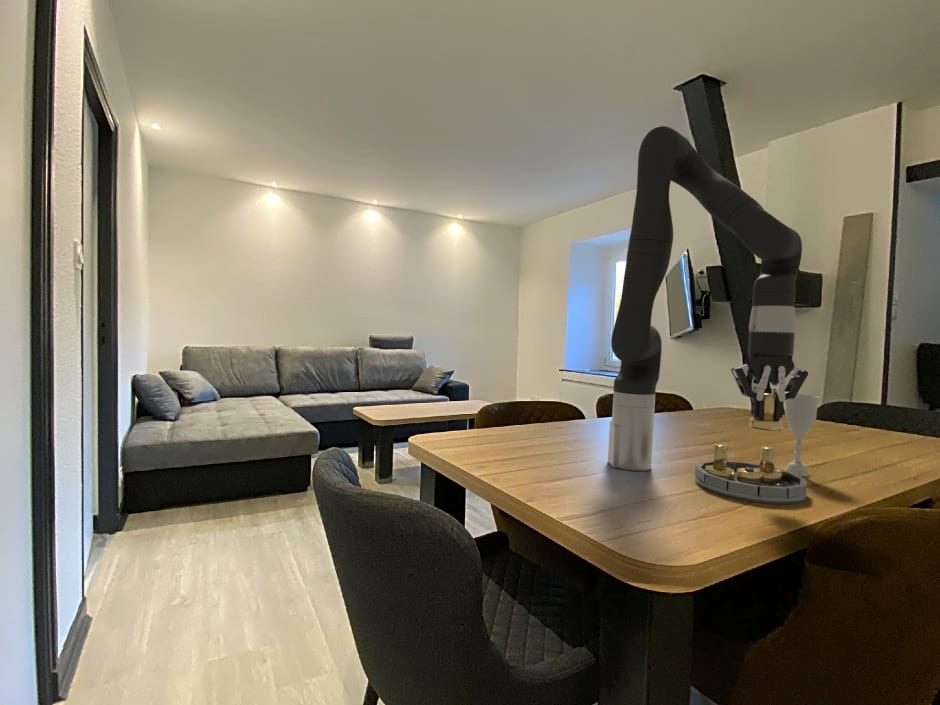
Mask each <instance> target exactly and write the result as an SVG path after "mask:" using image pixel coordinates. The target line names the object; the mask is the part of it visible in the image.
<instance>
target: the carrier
mask: <svg viewBox="0 0 940 705" xmlns="http://www.w3.org/2000/svg"><path fill="white" fill-rule="evenodd" d="M728 449H729V447H728V445H726V444H720V443H719V444H717V443H715V444H713V459H712V460H706V461H700V462H698V464H697V465H695V469H694V470H695V471H694V476H695V477H694V480H695V481H694V482H695V483H696V484H697V485H698V486H699V487H701V488H703V489H705V490H707V491H709V492H712V493H714V494H717V495H721V496H723V497H728V498H731V499H736V500H741V501H745V502H751V503H759V504H765V505H766V504H767V505H796V504H800V503H801V504H802V503H804V502H805V501H806V500H807V496H808V491H807V479H806V478H805V477H803V476H798V475H796V474H794V473H791V472H789V471H785V469H781V468H778V467H775V461H776V460H775V458H776V448H774V447H771V446H761V447H760V456H759V464H758V463H753V462H746V461H739V460H728V452H729V450H728Z"/></svg>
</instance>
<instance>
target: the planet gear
mask: <svg viewBox="0 0 940 705" xmlns="http://www.w3.org/2000/svg"><path fill="white" fill-rule="evenodd" d="M775 399H776V395H775V394H772V393H768V392H767V393H766V392H764V395H763V399H762V401H763V419H762V420H756V419H754V417H753V416H752V417H750V418H749V428H751V429H754V430H755V429H756V430H761V431H769V432H782V431H784V421H783V420H782V419H780V420H779V421H774V416H775Z"/></svg>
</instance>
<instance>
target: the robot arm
mask: <svg viewBox="0 0 940 705" xmlns="http://www.w3.org/2000/svg"><path fill="white" fill-rule="evenodd" d="M638 150H639V151H638V158H637V175H636V178H637V179H636V196H635V202H634V207H633V214H632V223H631V229H630V234H629V238H628V239H629V240H628V244H627V245H628V247H627V252H626V261H625V268H624V269H625V270H624V275H623V283H622V290H621V298H620V302H619V307H618V310H617V314H616V318H615V322H614V326H613V330H612V335H611V341H610V344H611V349H612V353H613V354H614V356H615V357H616V358H617V359H618V360H619V361H620V368H619V372H618V374H617V376H615V379H614V381H613V392H612V393H613V396H612V412H611V414H612V415H611V421H610V422H609V431H608V432H609V433H608V450H607V451H608V452H607V454H608V455H607V462H608V463H609V464H610V466H611V467H612V468H615V469H622V470H627V471H637V472H638V471H649V470H651V469H652V461H653V447H654V446H653V444H654V426H655V425H654V424H655V409H656V408H655V406H656V405H655V404H656V392H657V390H656V388H657V385H658V382H659V379H660V370H661V359H662V338H661V337H662V336H661V334H660V332H659V330H658V329H657V328H655V327H654V326H653V325H651V324H652V315H653V308H654V302H655V299H656V296H657V294H658V292H659V290H660V288H661V285H662V283H663V281H664V278H665V277H666V274H667V271H668V268H669V266H670V262H671V257H672V256H671V255H672V249H673V242H674V226H673V219H672V218H673V217H672V211H671V204H670V188H671V182H673V183H674V184H677V185H679V186H680V187H682V188H683V189H685V190H686V191H687V192H689V193H690V194H691V195H692V196H694V198H695V199H696V200H697V201H698V202H699V204H700V205H701V206H702V207H703V208H704V209H705V211H707V212H708V214H710V215H711V216H712V217H713V218H714V219H715V220H716V221H717V222H719V224H721V225H722V226H723V227H724V228H725V229H726V230H728V231H729V232H731V233H732V234H733V235H734V236H736V238H737V239H738V240H739V241H740V242H741V243H742V244H743V246H744V247H745V248H746V249H748V250H749V252H751V253H752V254H753V255H754V256H755V257H757V258H758V259H760V260H761V261H760V270H759V277H757V278H756V279H755V281H754V283H753V287H752V299H751V300H752V301H751V302H752V303H751V312H750V317H749V324H748V345H747V346H748V347H747V354H748V357H747V359H746V360H745V361H744V362H745V364H743V365H739V366H737V367H736V366H735V367H731V370H730V371H731V374H732V376H733V378H734V380H735V382H736V385H737V387H738V389H739V391H740V393H741V395H742V396H744V397H747V398H749V399H750V401H751V402H750V404H751V405H750V406H751V407H750V415H751V416H752V418H753V417H754V419H756V420H762V419H763V401H762V399H763V395H764V393H765V390H766V389H767V386H768V384H769V387H770V389H771V394H775V395H776V399H775V416H774V421H779V420H781V419H783V416H784V404H785V403H784V402H786V400H787V399H794V398H795V396H796V395H797V394H799V391H800V389H801V388H802V386H803V384H804V382H805V381H806V379H807V377H808V376H809V371H807V370H804V369H800V368H798V367H797V366H795V363H794V361H793V356H794V350H795V349H794V348H795V334H796V332H795V330H796V310H795V308H796V306H795V305H796V282H797V277H798V273H799V270H800V269H799V268H800V266H801V260H802V254H803V253H802V252H803V243H802V242H803V241H802V238H801V235H800V234H799V233H798V232H797V231H796V230H795V229H792V228H791V227H789V226H788V225H786V224H785V223H783V222H782V221H780V220H779V219H778V218H776V217H774V215H772V214H770V213H769V212H767V211H766V210H765V208H764V207H763V206H762V205H761V204H760V203H759V202H758V201H757V200H756V199H755V198H753V197H752V196H750V195H749V194H748V193H747V192H746V191H744V190H743V189H742V188H740V187H739V186H738V185H737V184H735V183H733V182H732V181H730V180H729V179H727V178H726V177H724V176H723V175H722V174H720V173H718V172H717V171H716V170H715V169H713V168H712V167H711V166H710V165H709V164H708V163H707V162H706V161H705V160H704V159H703V158H702V156H701V155H700V154H699V153H698V152H697V150H696V149H695V147H694V146H693V144H692V143H690V141H689V139H688V138H687V137H685V136H684V135H683V134H681V133H680V132H679V131H677V130H676V129H674V128H673V127H670V126H668V125H659V126H656V127H654V128H652V129H651V130H649V132H647V134H646V135H645V136H644V137H643V139H642V141H641V144H640V146H639V149H638ZM748 372H749V373H750V375H751V377H752V380H751V384H750V383H749V380H748V378H747V377H748V374H749V373H748ZM788 376H790V379H789V381H788V383H787V382H786V379H787V377H788ZM786 383H787V384H786Z"/></svg>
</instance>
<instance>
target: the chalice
mask: <svg viewBox="0 0 940 705" xmlns="http://www.w3.org/2000/svg"><path fill="white" fill-rule="evenodd" d="M820 399H821V396H818V395H813V394H812V395H811V394H805V393H804V394H802V393H801V394H800V393H797V395H796V396H795V398H794V399H787V400H785V411H784V412H785V414H784V417H785V419H786V422H787V424H788V427H789V429H790V432H791V433H792V434H793V435H795V436H796V437H795V438H796V441H795V442H794V445H795V450H794V451H793V453H794V456H795V457H794V460H793V461H790V462H789V463H787V466H786V467H785V469H784V470H785V471H789V472H791V473H794V474H796V475H798V476H800V477H810V476H809V475H810V473H809V470H808V468H807V464H805V463H803V462H802V461H801V455H802V454H803V452H802V447H803V443H802V438H803V437H804V436H807V435H808V433H810V431H811V429H812V427H813V426H814V424H815V423H816V419H817V416H818V415H817V413H818V412H817V411H818V402H819V400H820Z"/></svg>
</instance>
